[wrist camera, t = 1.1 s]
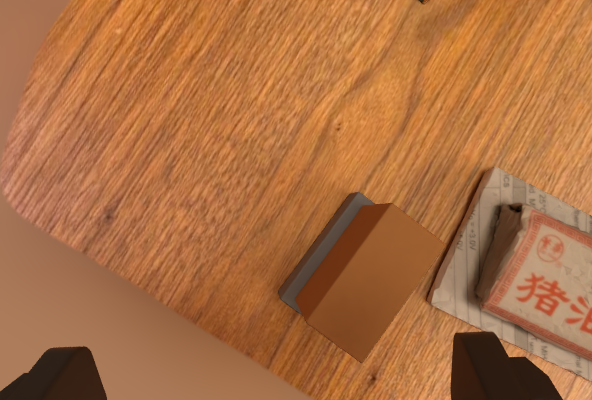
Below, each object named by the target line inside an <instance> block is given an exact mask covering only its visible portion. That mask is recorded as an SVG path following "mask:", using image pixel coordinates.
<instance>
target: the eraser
mask: <svg viewBox="0 0 592 400" xmlns="http://www.w3.org/2000/svg"><path fill="white" fill-rule="evenodd" d="M445 245H446V244H445V243H444V242H442V241H441V240H440V239H438V238H437V237H436V236H435V235H433V234H432V233H431V232H429V231H428V230H427V229H425V228H424V227H423V226H421V225H420V224H419V223H418V222H416V221H415V220H414V219H412V218H411V217H410V216H408V215H407V214H406V213H405V212H403V211H402V210H401V209H399V208H398V207H397V206H395V205H394V204H393V203H388V204H375V203H373V202H372V201H371V200H369V199H368V198H367V197H365V196H364V195H363V194H362V193H360V192H356V193H351V194H349V196H348V197H347V198H346V200H345V201H344V203H343V204H342V205H341V207H340V208H339V209H338V211H337V212H336V213H335V215H334V216H333V217H332V219H331V220H330V222H329V223H328V224H327V226H326V227H325V228H324V230H323V231H322V232H321V234H320V235H319V236H318V238H317V239H316V241H315V242H314V243H313V245H312V246H311V247H310V249H309V250H308V251H307V253H306V254H305V255H304V257H303V258H302V260H301V261H300V262H299V264H298V265H297V266H296V268H295V269H294V270H293V272H292V273H291V274H290V276H289V277H288V279H287V280H286V281H285V283H284V284H283V285H282V287H281V288H280V289H279V291H278V293H279V296H280V299H281V300H282V301H283V302H285V303H286V304H287V305H289V306H290V307H291V308H293V309H294V310H296V311H297V312H298V313H300V314H301V315H302V316H303V317H304V319H305V321H306V323H307V324H309V325H310V326H311V327H313V328H314V329H316V330H317V331H318V332H320V333H321V334H322V335H324V336H325V337H326V338H328V339H329V340H330V341H332V342H333V343H335V344H336V345H337V346H339V347H340V348H341V349H343V350H344V351H345V352H347V353H348V354H349V355H351V356H352V357H354V358H355V359H356V360H358V361H359V362H360V363H363V362H364V360H365V359H366V358H367V356H368V355H369V353H370V352H371V350H372V349H373V348H374V346H375V345H376V343H377V342H378V341H379V339H380V338H381V336H382V335H383V333H384V332H385V331H386V329H387V328H388V326H389V325H390V324H391V322H392V321H393V319H394V318H395V316H396V315H397V314H398V312H399V311H400V309H401V308H402V307H403V305H404V304H405V302H406V301H407V299H408V298H409V297H410V295H411V294H412V292H413V291H414V290H415V288H416V287H417V285H418V284H419V282H420V281H421V280H422V278H423V277H424V275H425V274H426V273H427V271H428V270H429V268H430V267H431V265H432V264H433V263H434V261H435V260H436V258H437V257H438V256H439V254H440V253H441V251H442V250H443V248H444V247H445Z"/></svg>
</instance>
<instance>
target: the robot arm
mask: <svg viewBox="0 0 592 400" xmlns="http://www.w3.org/2000/svg"><path fill="white" fill-rule="evenodd" d="M0 400H107V397H106V393H105V390H104V388H103V385H102V382H101V379H100V376H99V373H98V370H97V367H96V365H95V361H94V359H93V356H92V353H91V351H90V350H89V349H88V348H87V347H60V348H50V349H48V350H47V351H46V352H45V353H44V354H43V355H42V356H41V358H40V359H39V360H38V361H37V363H36V364H35V365H34V366H33V368H32V369H31V370H30V371H29V373H24V374H22V375H21V376H20V377H19V378H17V379H16V380H15V381H13V382H12V383H11V384H9V385H8V386H7V387H5V388H4V389H3V390H2V391H0ZM451 400H563V399H562V397H561V396H560V394H559V393H558V391H557V389H556V388H555V386H554V385H553V383H552V381H551V380H550V378H549V377H548V376H547V375H546V374H545V373H544V372H543V371H541V370H540V369H539V368H538V367H537V366H535V365H534V364H533V363H532V362H531V361H529V360H528V359H527V358H526V357H508V355H507V353H506V351H505V349H504V348H503V346H502V344H501V342H500V340H499V339H498V337H497V335H496V334H495V333H494V332H492V331H490V332H465V333H455V335H454V340H453V355H452V372H451Z"/></svg>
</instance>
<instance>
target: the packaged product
mask: <svg viewBox="0 0 592 400" xmlns="http://www.w3.org/2000/svg"><path fill="white" fill-rule="evenodd" d="M427 301H428V302H429V303H430V304H431V305H433V306H435V307H437V308H439V309H441V310H443V311H445V312H447V313H449V314H451V315H453V316H455V317H457V318H459V319H461V320H463V321H465V322H467V323H469V324H471V325H473V326H475V327H476V328H478V329H480V330H483V331H485V332H490V331H492V332H494V333H495V334H496V335H497V337H498V338H500V339H502V340H505V341H507V342H509V343H511V344H513V345H515V346H518V347H520V348H522V349H524V350H526V351H528V352H531V353H533V354H535V355H537V356H539V357H541V358H543V359H545V360H547V361H549V362H551V363H553V364H555V365H558V366H560V367H562V368H564V369H566V370H568V371H571V372H573V373H575V374H577V375H579V376H581V377H584V378H586V379H588V380H590V381H591V382H592V216H590V215H588V214H586V213H584V212H583V211H581V210H579V209H577V208H574V207H572V206H570V205H568V204H567V203H565V202H563V201H561V200H560V199H558V198H556V197H554V196H552V195H550V194H548V193H546V192H544V191H542V190H540V189H538V188H536V187H535V186H533V185H530V184H528V183H526V182H524V181H523V180H521V179H519V178H516V177H514V176H512V175H510V174H508V173H506V172H505V171H503V170H501V169H500V168H498V167H493V168H491V169H489V170H488V171H486V172H485V173H484V176H483V178H482V180H481V182H480V184H479V186H478V189H477V191H476V193H475V195H474V197H473V199H472V202H471V204H470V206H469V208H468V210H467V213H466V215H465V217H464V219H463V221H462V223H461V225H460V227H459V229H458V232H457V234H456V236H455V238H454V240H453V242H452V244H451V246H450V248H449V250H448V253H447V255H446V257H445V259H444V261H443V263H442V265H441V267H440V269H439V272H438V274H437V276H436V279H435V281H434V284H433V286H432V288H431V291H430V293H429V296H428V298H427Z"/></svg>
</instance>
